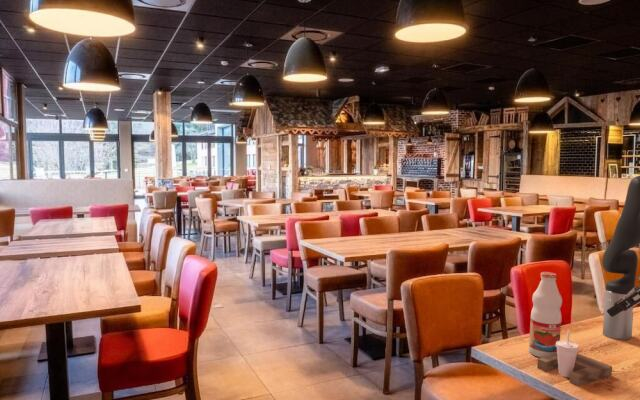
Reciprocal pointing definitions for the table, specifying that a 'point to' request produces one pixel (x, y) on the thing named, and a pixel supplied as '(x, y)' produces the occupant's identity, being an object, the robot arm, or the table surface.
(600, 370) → the notched board
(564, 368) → the smoothie
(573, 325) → the table surface
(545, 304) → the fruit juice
